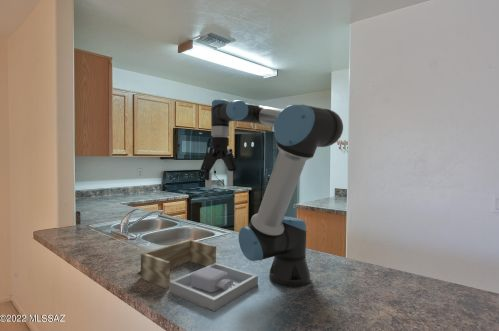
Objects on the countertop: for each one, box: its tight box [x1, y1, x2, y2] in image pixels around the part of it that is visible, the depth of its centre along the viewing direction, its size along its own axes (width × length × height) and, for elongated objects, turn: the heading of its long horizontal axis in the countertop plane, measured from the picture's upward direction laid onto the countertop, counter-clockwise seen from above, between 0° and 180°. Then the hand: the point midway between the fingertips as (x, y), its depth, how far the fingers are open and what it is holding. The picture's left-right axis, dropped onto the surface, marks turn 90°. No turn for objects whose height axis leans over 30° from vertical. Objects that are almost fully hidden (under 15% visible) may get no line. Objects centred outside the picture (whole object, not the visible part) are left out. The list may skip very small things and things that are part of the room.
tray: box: [168, 262, 259, 313], centre depth 99 cm, size 20×22×4 cm
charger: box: [191, 266, 235, 293], centre depth 99 cm, size 5×9×15 cm
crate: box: [140, 239, 217, 290], centre depth 113 cm, size 15×24×9 cm, turn 144°
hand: (219, 187), depth 123 cm, fingers open, 13 cm apart
